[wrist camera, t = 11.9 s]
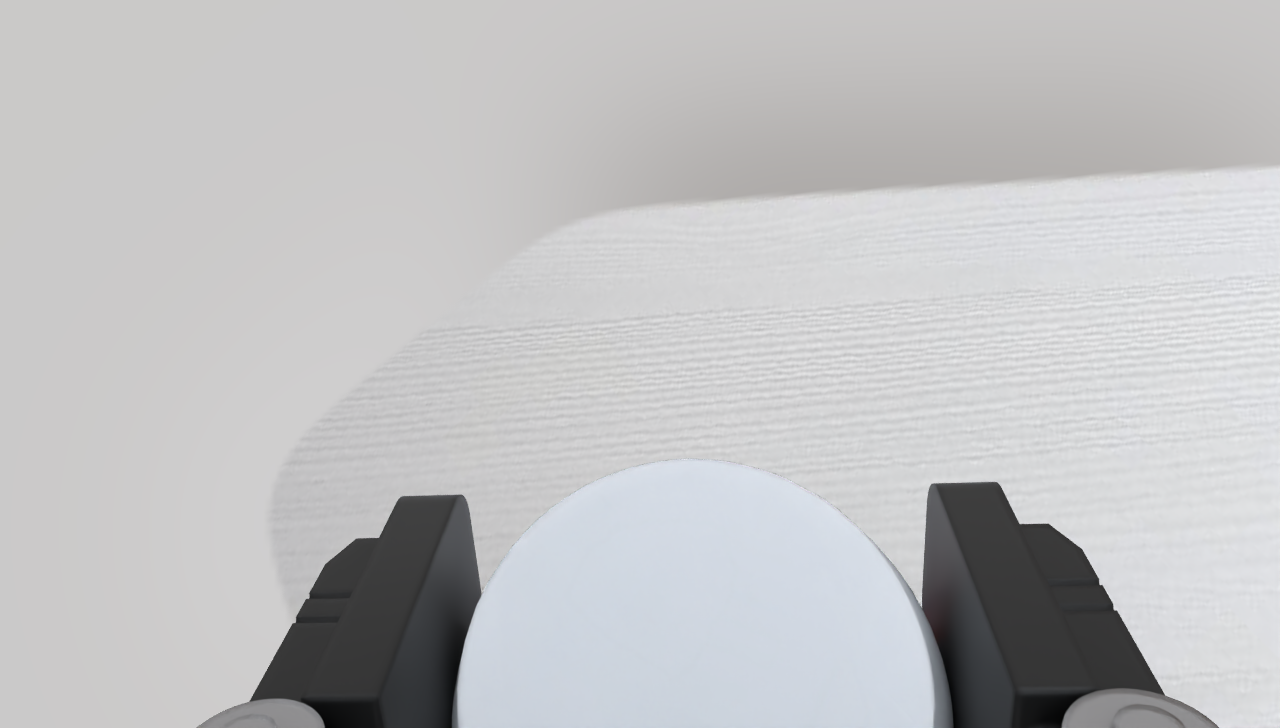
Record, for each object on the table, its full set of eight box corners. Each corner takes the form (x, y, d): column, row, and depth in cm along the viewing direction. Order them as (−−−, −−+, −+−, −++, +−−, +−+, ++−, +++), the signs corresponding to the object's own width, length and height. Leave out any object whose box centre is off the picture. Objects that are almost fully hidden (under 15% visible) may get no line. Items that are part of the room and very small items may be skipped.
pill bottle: (913, 636, 18) (1095, 490, 9) (821, 975, 17) (934, 1208, 7) (614, 532, 19) (514, 309, 10) (499, 841, 18) (255, 902, 8)
